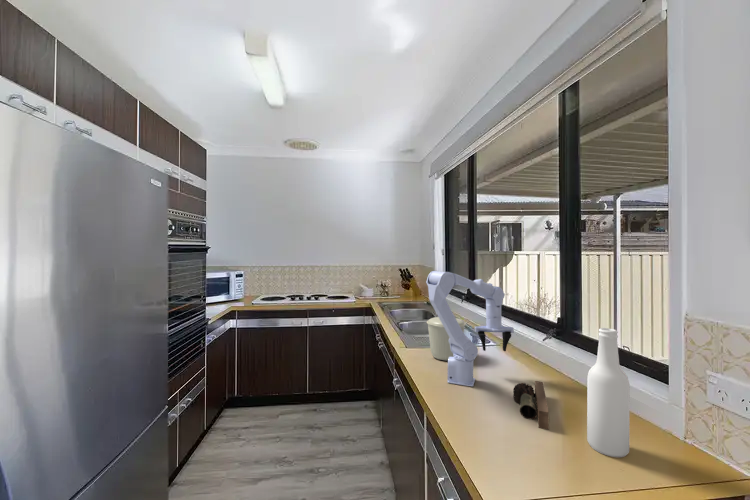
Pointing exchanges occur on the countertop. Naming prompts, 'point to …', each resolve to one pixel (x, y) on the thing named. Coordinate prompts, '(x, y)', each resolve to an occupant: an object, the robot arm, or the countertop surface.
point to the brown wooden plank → (541, 406)
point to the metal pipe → (525, 400)
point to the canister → (440, 338)
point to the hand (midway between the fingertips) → (494, 350)
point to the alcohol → (608, 400)
